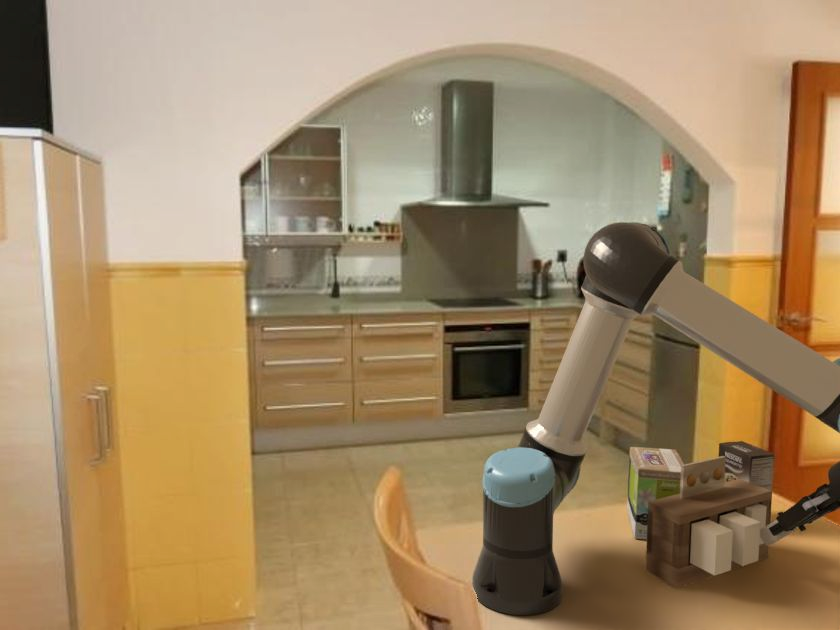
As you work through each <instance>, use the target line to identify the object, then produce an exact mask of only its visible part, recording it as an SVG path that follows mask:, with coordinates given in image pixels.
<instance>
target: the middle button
mask: <svg viewBox="0 0 840 630" xmlns="http://www.w3.org/2000/svg"><path fill="white" fill-rule="evenodd" d="M719 524H720V525H722V526H724V527H726V528H729V529H731V530H733V539H732V557H731V560H732V561H734V562H736V563H738V564H740V565H742V567H744V565H745V566H748V565H751V564H753V562H754V563H757V562H759V561H758V556H759V539H760V522H759V521H757V520H754V519H752V518H749V517H747V516H744V515H742V514H740V513H737V512H732V513H728V514H725V515H721V516H720V521H719ZM756 561H757V562H756ZM750 563H751V564H750ZM747 564H748V565H747Z"/></svg>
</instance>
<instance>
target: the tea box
mask: <svg viewBox="0 0 840 630" xmlns="http://www.w3.org/2000/svg"><path fill="white" fill-rule="evenodd" d="M628 456H629V457H628V459H629V460H628V462H629V463H628V479H627V499H626V500H627V501H626V510H627V513H628V518H629V523H630V526H631V530H632V534H633V537H634V539H637V540H638V539H639V540H644V541H647V523H648V502H649V501H653V500H657V499H661V498H665V497H669V496H673V495H677V494H680V480H681V465H685V464H686V463H684V461H683V460H682V458H681V455H680V454H679V453H678V451H677V449H674V448H673V449H670V448H655V447H640V446H630V447H629V455H628Z"/></svg>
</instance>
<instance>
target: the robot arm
mask: <svg viewBox="0 0 840 630" xmlns="http://www.w3.org/2000/svg"><path fill="white" fill-rule="evenodd" d="M582 262H583V269H584V272H585V278H584V280H583V283H582V285H581V288H580V289H581V291H582V294H583V296H584V298H585V301H584V304H583V306H582V309H581V311H580V314H579V316H578V319H577V321H576V323H575V327H574V328H573V331H572V334H571V336H570V339H569V341H568V343H567V346H566V349H565V351H564V353H563V356H562V359H561V361H560V364H559V366H558V369H557V371H556V374H555V375H554V379H553V381H552V384H551V386H550V388H549V391H548V393H547V396H546V398H545V402H544V403H543V406H542V409H541V411H540V414H539V416H538V418H537V419H534V420H532V421H529V422H528V423H526V426H525V428H524V430H523V433H522V436H521V438H520V440H519V443H518V446H517V447H510V448H509V447H508V448H507V449H506V450H505V449H504V450H503V449H501V450H498V451H497V452H494V453H493V454H492V455H490V456H489V457H488V459H487V460H486V462H485V463H484V467H483V475H482V481H481V482H482V502H483V503H482V520H483V521H482V547H481V550H480V552H479V556H478V560H477V562H476V565H475V568H474V570H473V573H472V586H473V588H474V590H475V592H476V594H477V597H478V600H479V601H478V600H477V601H478V602H479V603H480V604H482V605H484V606H485V607H487V608H489V609H491V610H493V611H496V612H499V613H502V614H507V615H514V616H531V615H533V616H534V615H538V614H543V613H546V612H549V611H551V610H553V609H554V608H556V607H557V606H558V605H559V604H560V603H561V601H562V599H563V579H562V577H561V573H560V570H559V566H558V563H557V561H556V557H555V554H554V547H553V545H554V543H553V541H554V539H553V538H554V536H553V535H554V513H555V511H556V509H558V508H559V506H560V504H561V503H562V502H563V500H564V499H566V496H568V494H570V493H571V491H572V490H573V489H574V488H575V487H576V485H577V483H578V481H579V477H580V473H581V467H582V463H583V461H584V460H585V459H584V458H585V456H586V454H587V453H588V452H587V451H588V446H587V445H586V442H585V440H584V437H585V434H586V432H587V430H588V427H589V425H590V422H591V420H592V417H593V415H594V413H595V411H596V408H597V406H598V404H599V400H600V399H601V396H602V394H603V392H604V390H605V387H606V385H607V383H608V381H609V377H610V375H611V373H612V372H613V371H612V370H613V368H614V366H615V363H616V361H617V359H618V356H619V354H620V352H621V351H622V350H621V348H622V347H623V344H624V342H625V340H626V337H627V335H628V332H629V331H630V328H631V326H632V324H633V321H634V319H636V317H638V316H642V317H647V316H655V317H656V318H658V319H660V320H661V321H663V322H664V323H666V324H667V325H669V326H670V327H672V328H673V329H675V330H676V331H678V332H680V333H682V334H684V335H685V336H686V337H689V338H690V339H691V340H693V341H694V342H696V343H698V344H699V345H700V346H702V347H704V348H706V349H707V350H709V351H710V352H712V353H713V354H715V355H717V356H719V358H722V359H723V360H724V361H726V362H728V363H729V364H730V365H733V366H734V367H736V368H737V369H739V370H740V371H742V372H744V373H745V374H747V375H749V376H750V377H752V378H753V379H754V380H756V381H758V382H759V383H761V384H762V385H765V387H767V388H769V389H770V390H772V391H773V392H775V393H777V394H778V395H780V397H783V398H784V399H787V400H788V401H789V402H791V403H793V404H794V405H796V406H797V407H799V408H801V409H802V410H804V411H805V412H807V413H808V414H809V415H811V416H813V417H814V418H816V419H817V420H819V421H820V422H821V423H823V424H824V425H826V426H827V427H829V428H831V429H833V430H834V431H836V432H837V433H839V434H840V357H838V358H837V359H835V360H833V361H832V360H830V359H828V357H826V356H823V355H822V354H821V353H819V352H817V351H816V350H814V349H812V348H811V347H808V346H807V345H805V344H804V343H803V342H800V341H799V340H797V339H795V338H794V337H792V336H791V335H789V334H787V333H786V332H784V331H783V330H780V329H779V328H777V327H776V326H774V325H773V324H771V323H769V322H767V321H765V320H764V319H763V318H761V317H759V316H757V315H756V314H754V313H753V312H751V311H749V310H748V309H746V308H744V307H743V306H742V305H740V304H738V303H736V302H735V301H733V300H731V299H730V298H728V297H726V296H724V295H723V294H721V293H719V292H718V291H716V290H715V289H713V288H711V287H709V286H708V285H706V284H705V283H703V282H702V281H700V280H698V279H697V278H695V277H693V276H691V275H690V274H689V273H686V272H685V271H684V267H683V263H682V261H681V260H679V259H677V258H676V257H674V256H672V255H671V250H670V248H669V245H668V242H667V240H666V239H665V237H664V236H663V235H662V234H661V233H660V231H658V230H657V229H656V228H654V227H651V226H649V225H648V224H645V223H640V222H637V221H636V222H634V221H633V222H623V221H622V222H613V223H610V224H608V225H605V226H603V227H601V228H599V230H597V231H596V232H595V233H594V234H593V235H592V236H591V237H590V238H589V240H588V241H587V243H586V246H585V247H584V252H583V261H582ZM827 472H828V473H827V477H828V482H829V483H828V484H827V483H824V484H822V485H820V486H819V487H817V488H816V490H815V491H814V492H812V493H810V494H809V495H805V496H801V498H800V499H799V501H797V502H795V504H793V505H792V506H791V507H789V508H788V509H786V510H785V511H783V510H782V511H779V512H777V516H776V518H775V520H774V521H772V522H770V524H769V525H767V526H766V527H764V528H762V529H761V530H760V537H761V539H762V540H763V542H764V543H765V545H766V546H768V545H769V546H770V545H773V544H775V543H776V542H778V541H781V540H782V539H783V538H785V537H787V536H788V535H790V534H791V533H793V532H795V531H797V530H798V529H799V531H800V533H802V532H804V531H806V530H807V528H806V526H805V525H808V524H812V523H813V522H815V521H816V520H818V519H820V518H822V517H823V516H826V515H828V514H830V513H832V512H833V513H834V512H836V511H837V510H839V509H840V460H839V461H838V462H836V463H834V464H833V465H831V466H830V468H829V469H828V471H827ZM472 586H471V587H472Z"/></svg>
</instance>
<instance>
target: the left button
mask: <svg viewBox="0 0 840 630" xmlns="http://www.w3.org/2000/svg"><path fill="white" fill-rule="evenodd" d="M732 539H733V530H731V529H729V528H726V527H724V526H722V525H720V524H717V523H715V522H713V521H711V520H708V519H707V520H704V521H700V522H697V523H693V524H692V529H691V551H690V563H692V564H693V565H695V566H697V567H699V568H701V569H703V570H705V571H707V572H709V573H710V574H712V575H714V576H713V577H715V575H716V576H718V574H719V575H721V574H725V573H728V572H729V571H732V570H731V557H732Z"/></svg>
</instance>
